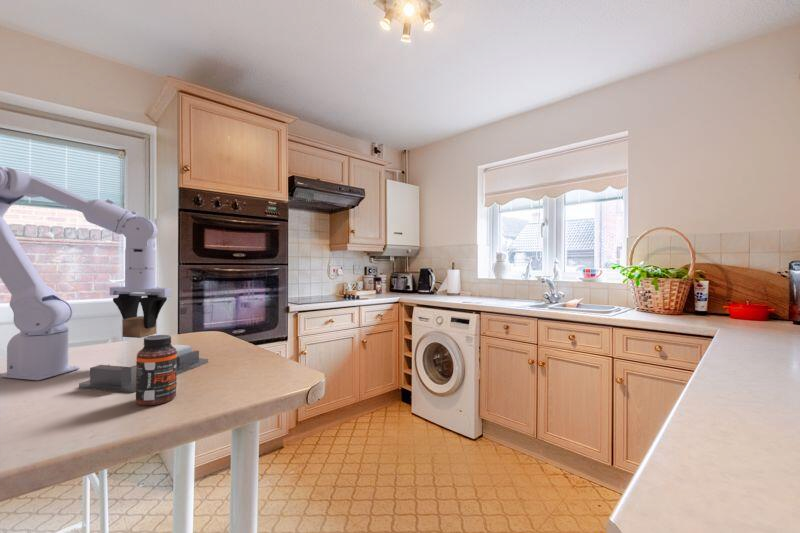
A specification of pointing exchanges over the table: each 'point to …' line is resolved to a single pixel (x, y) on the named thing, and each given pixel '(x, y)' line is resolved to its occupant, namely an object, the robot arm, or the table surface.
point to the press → (132, 374)
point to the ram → (182, 349)
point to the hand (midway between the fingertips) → (140, 327)
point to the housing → (137, 328)
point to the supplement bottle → (156, 371)
